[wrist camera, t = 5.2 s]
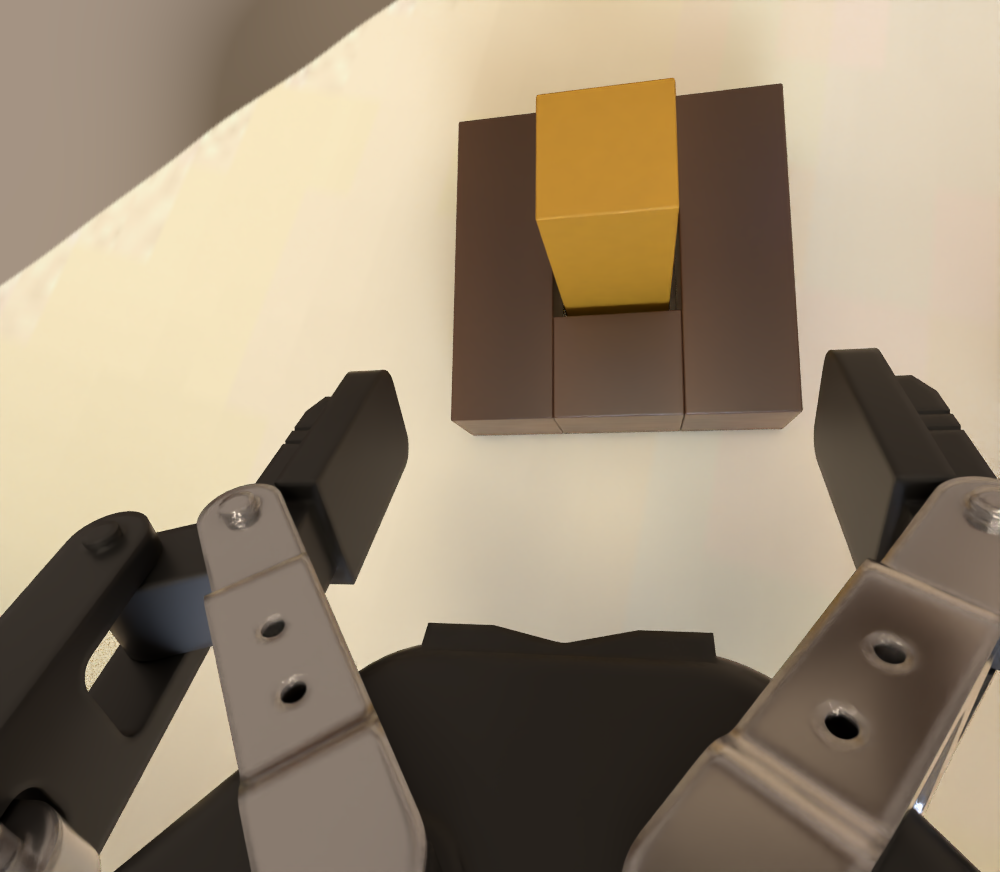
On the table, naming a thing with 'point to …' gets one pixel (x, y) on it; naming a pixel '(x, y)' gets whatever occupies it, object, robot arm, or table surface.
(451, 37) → the table surface
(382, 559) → the table surface
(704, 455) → the table surface
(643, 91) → the ochre peg
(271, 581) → the robot arm
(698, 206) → the walnut stand
